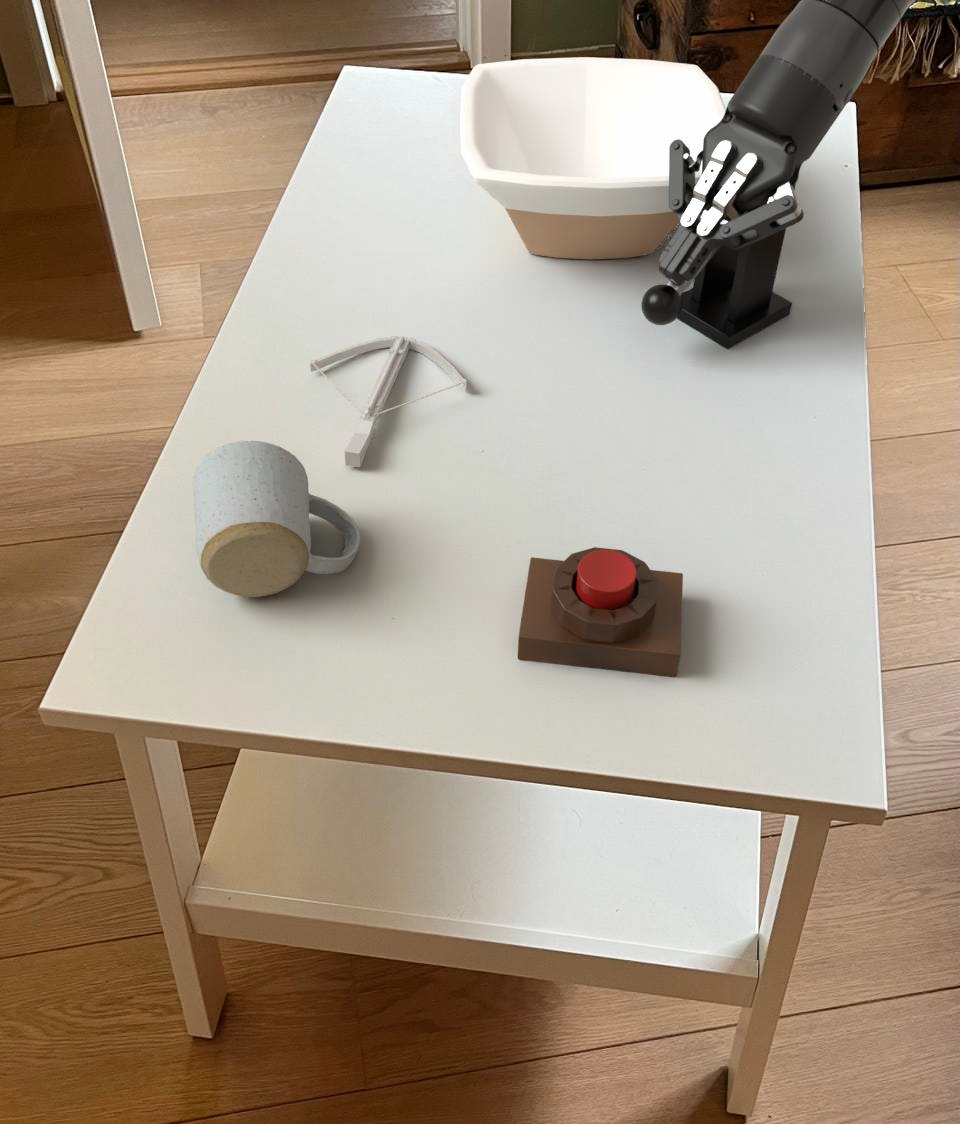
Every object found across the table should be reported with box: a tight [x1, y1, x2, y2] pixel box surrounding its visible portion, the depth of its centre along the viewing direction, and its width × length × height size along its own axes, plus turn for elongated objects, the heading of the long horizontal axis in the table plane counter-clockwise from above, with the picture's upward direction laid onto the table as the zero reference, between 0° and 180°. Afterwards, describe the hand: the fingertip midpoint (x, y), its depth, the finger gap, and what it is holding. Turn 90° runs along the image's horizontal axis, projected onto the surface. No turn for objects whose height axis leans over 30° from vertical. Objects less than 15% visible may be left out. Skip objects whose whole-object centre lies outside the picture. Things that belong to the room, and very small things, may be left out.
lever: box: [640, 205, 734, 326], centre depth 94 cm, size 14×3×3 cm
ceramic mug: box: [192, 440, 361, 598], centre depth 78 cm, size 11×8×8 cm
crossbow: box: [309, 335, 468, 468], centre depth 92 cm, size 16×13×2 cm
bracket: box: [676, 183, 797, 350], centre depth 97 cm, size 8×7×13 cm
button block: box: [517, 546, 684, 678], centre depth 75 cm, size 10×7×4 cm
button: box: [576, 550, 636, 610], centre depth 74 cm, size 4×4×2 cm
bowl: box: [459, 56, 727, 260], centre depth 108 cm, size 24×25×11 cm
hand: (669, 278), depth 93 cm, fingers closed
